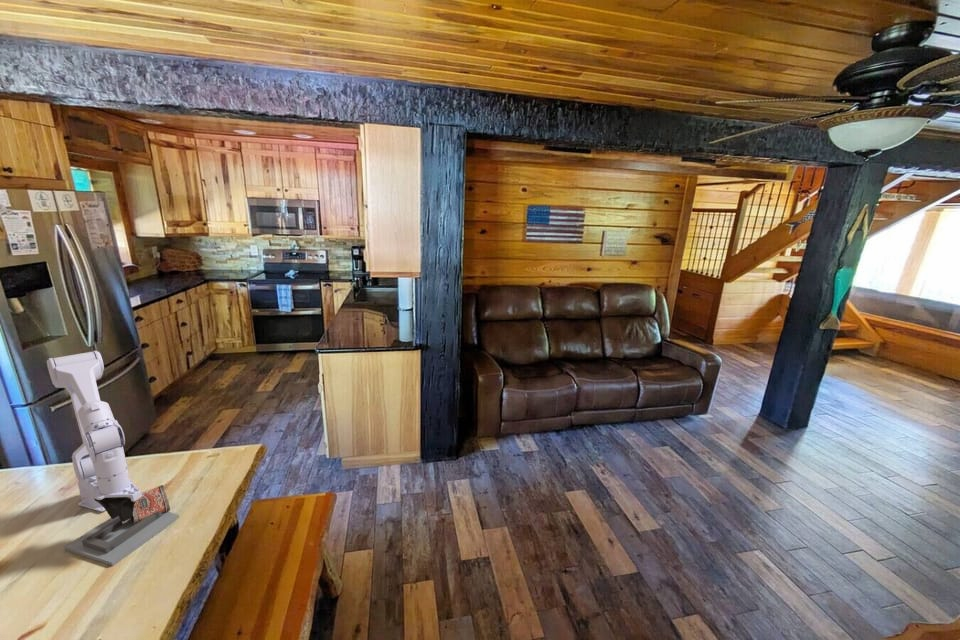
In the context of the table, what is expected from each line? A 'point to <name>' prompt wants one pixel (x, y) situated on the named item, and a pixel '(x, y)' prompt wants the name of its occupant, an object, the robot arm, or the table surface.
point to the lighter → (149, 504)
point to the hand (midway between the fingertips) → (122, 517)
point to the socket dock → (119, 537)
